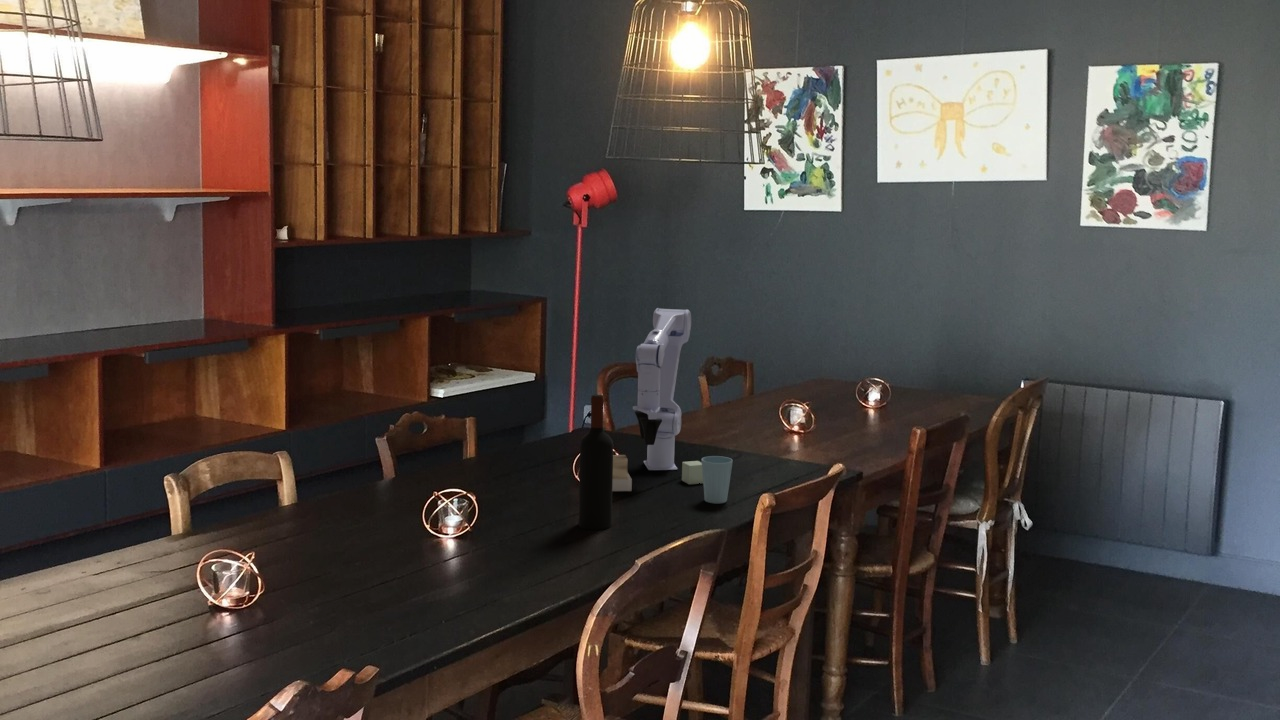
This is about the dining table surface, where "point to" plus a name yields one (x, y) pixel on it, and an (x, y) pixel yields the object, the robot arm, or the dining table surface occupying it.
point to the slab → (622, 484)
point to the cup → (716, 478)
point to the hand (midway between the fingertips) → (647, 441)
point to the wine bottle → (596, 472)
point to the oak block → (620, 466)
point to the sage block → (692, 472)
